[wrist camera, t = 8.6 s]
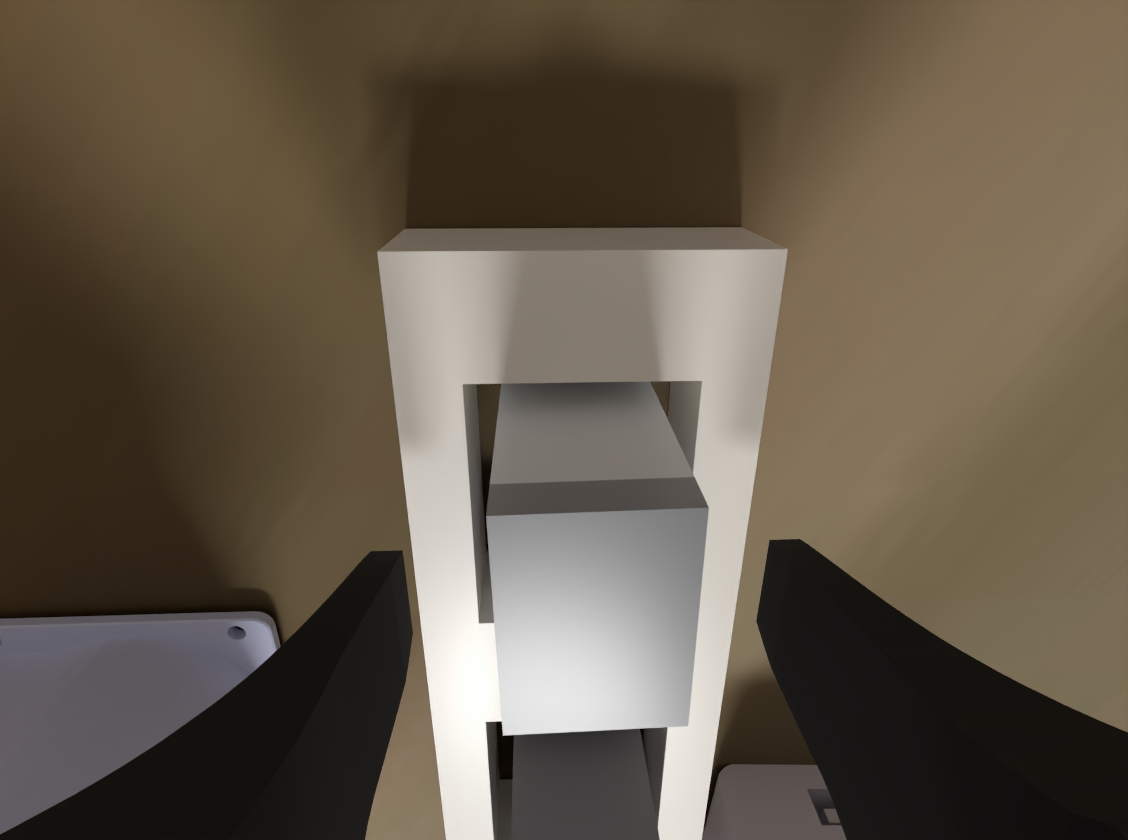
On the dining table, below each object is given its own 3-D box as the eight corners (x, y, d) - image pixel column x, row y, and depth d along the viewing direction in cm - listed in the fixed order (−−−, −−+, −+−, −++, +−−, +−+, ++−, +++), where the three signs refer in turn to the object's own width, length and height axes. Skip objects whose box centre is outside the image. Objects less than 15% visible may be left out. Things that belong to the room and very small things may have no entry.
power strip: (464, 830, 24) (453, 947, 21) (405, 228, 15) (367, 259, 12) (673, 820, 25) (697, 934, 21) (742, 227, 15) (803, 256, 12)
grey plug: (512, 528, 19) (502, 735, 12) (503, 366, 17) (485, 516, 10) (634, 523, 19) (688, 725, 12) (641, 362, 17) (709, 507, 10)
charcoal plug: (520, 763, 23) (515, 1007, 17) (516, 657, 21) (509, 892, 14) (620, 759, 23) (654, 1000, 17) (626, 654, 21) (667, 884, 15)
